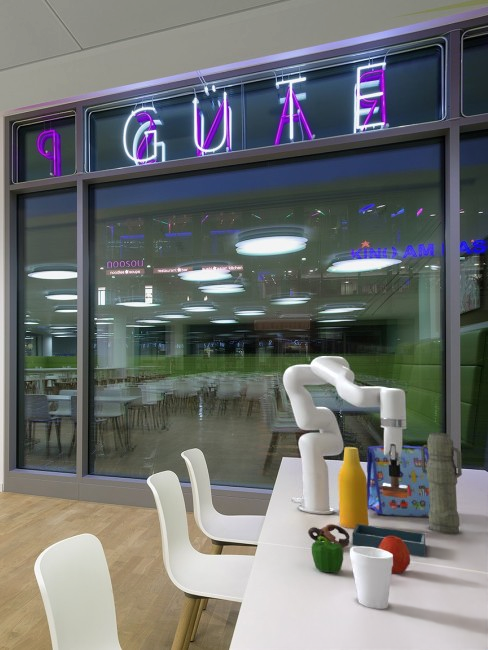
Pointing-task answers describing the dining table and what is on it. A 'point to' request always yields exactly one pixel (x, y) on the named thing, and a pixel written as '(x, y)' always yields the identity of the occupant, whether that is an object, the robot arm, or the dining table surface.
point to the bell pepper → (327, 555)
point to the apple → (396, 553)
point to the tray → (375, 535)
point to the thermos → (442, 482)
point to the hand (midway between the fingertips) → (394, 475)
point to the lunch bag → (409, 477)
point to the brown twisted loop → (326, 533)
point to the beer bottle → (352, 491)
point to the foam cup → (372, 575)
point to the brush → (395, 489)
